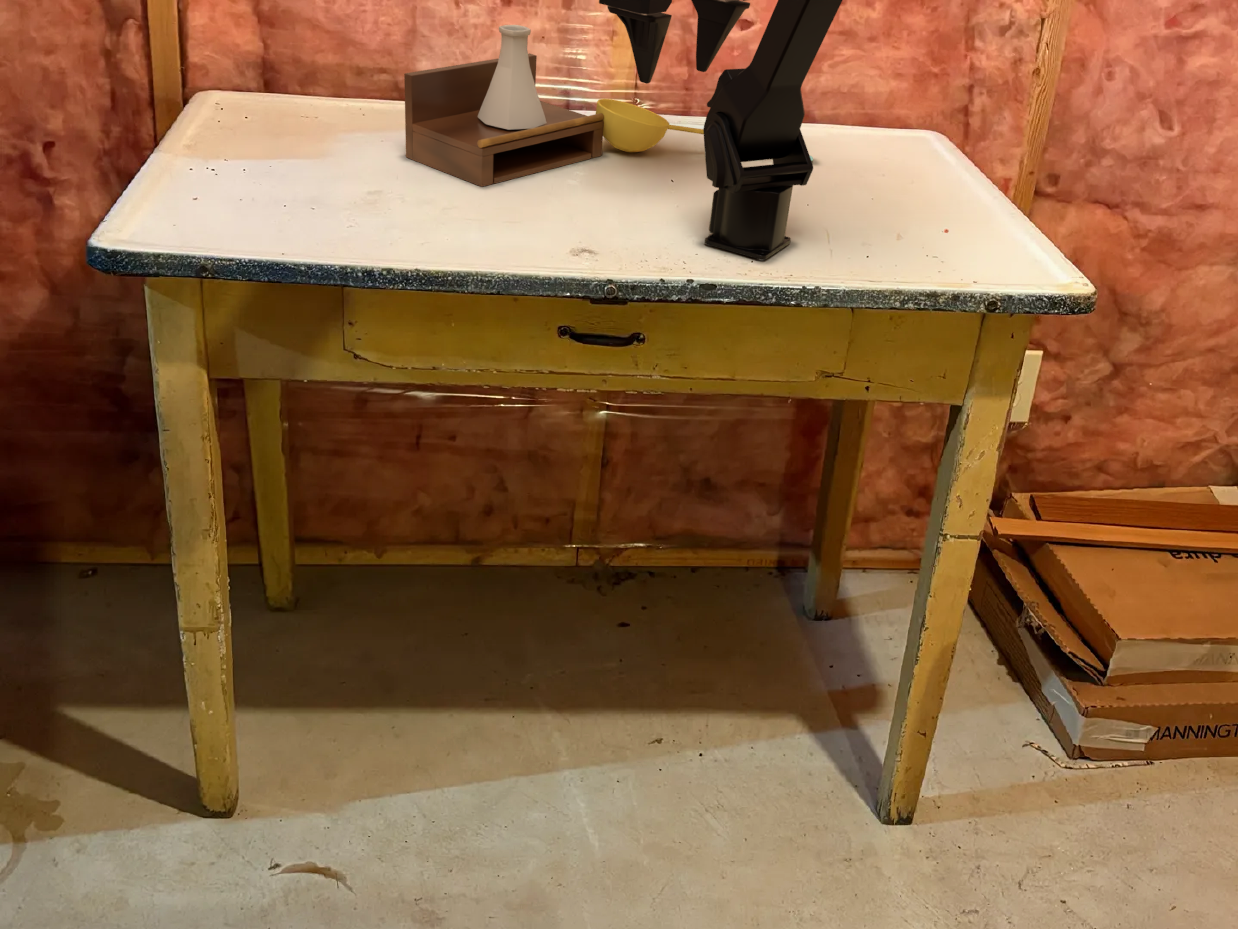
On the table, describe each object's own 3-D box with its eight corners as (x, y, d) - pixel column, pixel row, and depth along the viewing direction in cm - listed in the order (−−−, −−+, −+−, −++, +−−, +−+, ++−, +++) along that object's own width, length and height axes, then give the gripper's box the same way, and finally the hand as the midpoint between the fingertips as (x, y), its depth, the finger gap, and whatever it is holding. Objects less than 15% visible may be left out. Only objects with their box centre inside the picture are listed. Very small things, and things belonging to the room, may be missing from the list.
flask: (506, 135, 122) (509, 37, 117) (465, 118, 126) (466, 23, 121) (558, 126, 126) (563, 31, 121) (516, 110, 131) (519, 18, 125)
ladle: (585, 129, 137) (598, 82, 135) (788, 190, 142) (806, 145, 140) (587, 148, 130) (602, 98, 127) (802, 212, 135) (821, 165, 132)
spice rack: (601, 155, 132) (607, 75, 127) (481, 186, 119) (483, 99, 115) (526, 130, 138) (529, 52, 134) (405, 157, 126) (403, 73, 121)
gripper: (685, -106, 119) (669, 50, 127) (561, -102, 106) (553, 70, 114) (773, -91, 113) (751, 71, 121) (653, -85, 100) (637, 96, 109)
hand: (673, 76), depth 116 cm, fingers open, 9 cm apart
